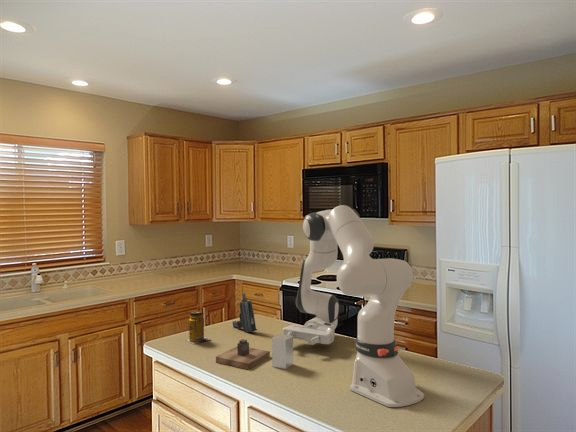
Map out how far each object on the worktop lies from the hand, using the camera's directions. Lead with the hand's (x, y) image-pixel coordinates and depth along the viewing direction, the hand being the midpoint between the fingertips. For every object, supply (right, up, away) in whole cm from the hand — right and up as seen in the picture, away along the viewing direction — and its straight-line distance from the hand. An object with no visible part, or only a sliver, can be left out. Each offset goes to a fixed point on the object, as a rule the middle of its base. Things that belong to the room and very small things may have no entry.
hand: (298, 339), depth 156 cm
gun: (-24, -6, +32) cm, 40 cm away
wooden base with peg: (-20, -6, -5) cm, 22 cm away
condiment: (-41, -6, +18) cm, 46 cm away
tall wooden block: (-6, -6, -11) cm, 13 cm away
